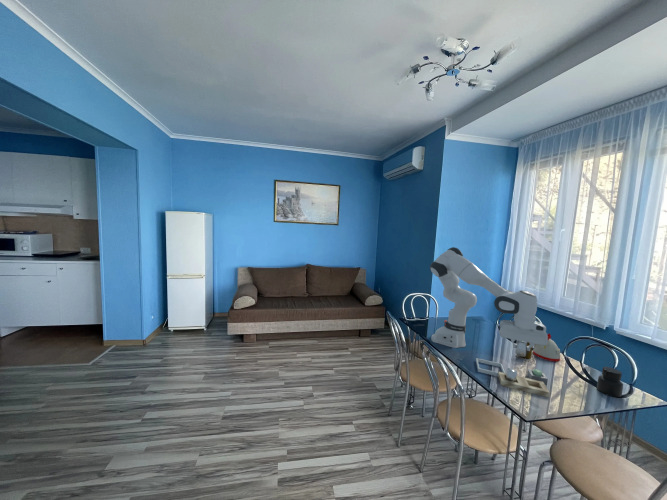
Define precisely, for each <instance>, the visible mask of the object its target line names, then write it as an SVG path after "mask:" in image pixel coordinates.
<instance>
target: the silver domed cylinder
mask: <svg viewBox="0 0 667 500" xmlns="http://www.w3.org/2000/svg"><path fill="white" fill-rule="evenodd" d="M506 373H507V374H506V380H508V381H512V382H516V377H517V376H518V371H517V369H514V368H511V367H508V368H507V369H506Z"/></svg>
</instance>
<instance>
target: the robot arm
mask: <svg viewBox="0 0 667 500" xmlns="http://www.w3.org/2000/svg"><path fill="white" fill-rule="evenodd" d="M429 269H430V271H431V273H432V274H433V275H434V276H435V277H437V278H438V279H439V281H440V283H441V284H442V286H443V291H442V295H443V297H444V298H445V299H446V300H448V302H449V301H450V302H452V303H454V306H453V308H452V309H450V310H449V311H448V317H447V318H448V319H444V320H443V323H444V324H443V325H444V326H441V327H438V328H437V329H436V331H435V333H433V334H432V335H431V338H430V340H431V342H433V343H437V344H439V345H443V346H447V347H450V348H453V349H457V348H465V347H466V345H467V344H466V338H465V337H466V336H465V335H466V329H467V325H466V320H467V314H468V313H469V311H470V309H471V308H474V307H475V306H476V305H477V302H478V298H477V295H476V294H475V293H473V292H472V291H470V290H467V289H465V288H462V287H460V280H462V281H463V282H464V283H466V284H468V285H472V286H479V287H482V288H483V289H485V290H487V291H488V292H489V293H490V294H492V295H493V296H494V297H495V299H494V302H493V304H494V307H495V309H496V310H497V311H498V312H500V313H503V314H509V315H510V314H513V315H514V316H513V317H514V318H513V320H508V319H501V320H500V321H499V327H500V328H499V332H498V333H499V336H500V338H505V339H509V340H510V341H511V343H512V349H513V348H514V349H516V347H517V345H516V343H514V342H515V341H517V340H519V341H524V342H529V343H530V345H529V346H527V348H526V350H527V351H530V348H531V347H532V346H533V347H534V345H535V344H540V345H547V343H548V336H547V335H548V333H547V326H546V325H544V324H543V323H541V322H540V321H537V318H536V313H537V310H538V298H537V296H536V295H535V294H534V293H532V292H530V291H527V290H523V289H522V290H518V291H516V292H514V291H511V290H508V289H506V288H504V287H503V286H501V285H500V284H499V283H497V282H496V281H494V280H493V279H491V278H490V277H489V276H488V275H487V274H486V273H484V271H482V270H481V269H480V268H479V267H478V266H476V264H474V263H473V262H472V261H470V260H469V259H468V258H466V257H465V256H464V254H463V252H462V251H461V249H460V248H457V247H454V246H452V247H450V248H448V249H447V250H446V251H444V252H443V253H440V254H439V256H438V257H437V258H436V259H435V260H434V261H432V262H431V264H430V265H429Z"/></svg>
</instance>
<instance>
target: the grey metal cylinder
mask: <svg viewBox="0 0 667 500" xmlns="http://www.w3.org/2000/svg"><path fill="white" fill-rule="evenodd" d="M515 344H516V345H517V347H516V348H515V352H514V353H515V356H516V355H518V356H522V357H525V356H526V348H527V342H524V341H519V340H516V343H515Z"/></svg>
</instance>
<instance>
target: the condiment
mask: <svg viewBox="0 0 667 500" xmlns="http://www.w3.org/2000/svg"><path fill="white" fill-rule="evenodd" d="M529 345H530V343H529V342H527V346H529ZM533 349H534V345H533V346H532V347H531V348H530V351H527V350H526V356H525V357H522V356H518V355H516V354H515V357H516V358H519V359H521V360H524V361H527V362H529V361H531V360H533V359H534V357H532V355H533Z"/></svg>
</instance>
